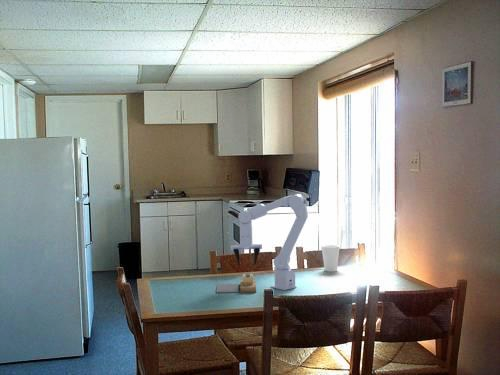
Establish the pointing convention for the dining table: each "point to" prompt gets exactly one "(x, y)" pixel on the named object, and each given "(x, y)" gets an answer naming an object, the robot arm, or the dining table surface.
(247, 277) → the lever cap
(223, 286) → the mat
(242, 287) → the body
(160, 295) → the dining table surface
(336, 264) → the foam cup
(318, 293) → the dining table surface
